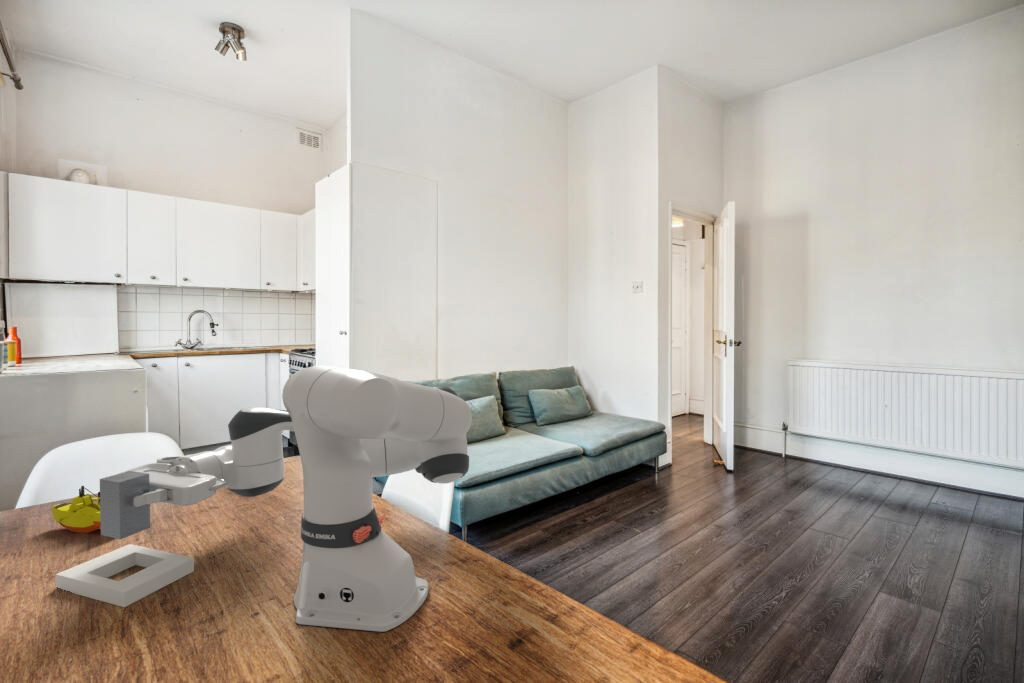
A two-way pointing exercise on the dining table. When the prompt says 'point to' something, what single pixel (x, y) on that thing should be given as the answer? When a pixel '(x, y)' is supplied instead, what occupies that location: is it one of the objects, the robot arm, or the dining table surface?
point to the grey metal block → (123, 504)
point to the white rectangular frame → (156, 575)
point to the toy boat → (79, 513)
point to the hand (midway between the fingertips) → (119, 499)
